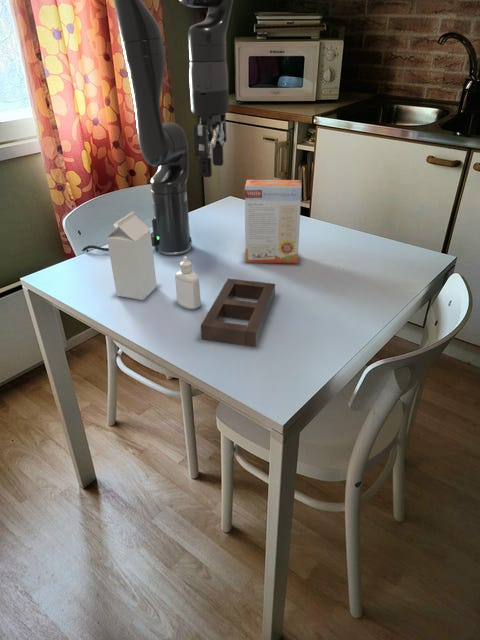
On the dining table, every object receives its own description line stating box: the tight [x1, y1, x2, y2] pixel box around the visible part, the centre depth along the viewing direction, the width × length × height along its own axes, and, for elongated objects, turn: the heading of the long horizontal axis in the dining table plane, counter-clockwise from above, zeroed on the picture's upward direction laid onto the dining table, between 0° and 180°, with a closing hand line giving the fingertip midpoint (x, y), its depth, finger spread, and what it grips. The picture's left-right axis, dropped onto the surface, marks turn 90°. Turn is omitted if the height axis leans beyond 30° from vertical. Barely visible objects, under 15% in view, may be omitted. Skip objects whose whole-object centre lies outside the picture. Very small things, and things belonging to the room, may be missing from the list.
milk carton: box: [106, 210, 158, 301], centre depth 111 cm, size 7×7×19 cm
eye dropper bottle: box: [174, 256, 202, 310], centre depth 107 cm, size 4×6×12 cm
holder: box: [200, 278, 276, 348], centre depth 105 cm, size 11×21×4 cm, turn 166°
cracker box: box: [244, 179, 303, 265], centre depth 124 cm, size 14×6×21 cm, turn 84°
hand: (212, 170), depth 102 cm, fingers open, 8 cm apart
